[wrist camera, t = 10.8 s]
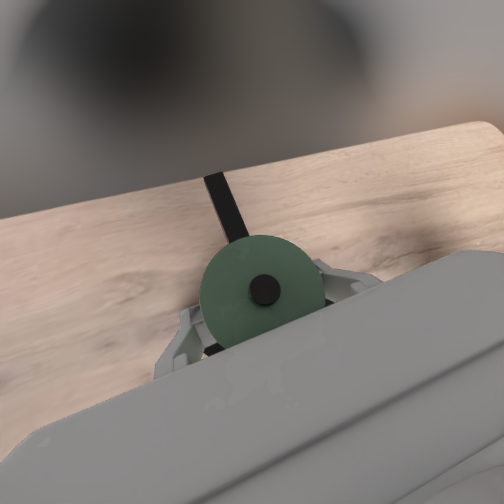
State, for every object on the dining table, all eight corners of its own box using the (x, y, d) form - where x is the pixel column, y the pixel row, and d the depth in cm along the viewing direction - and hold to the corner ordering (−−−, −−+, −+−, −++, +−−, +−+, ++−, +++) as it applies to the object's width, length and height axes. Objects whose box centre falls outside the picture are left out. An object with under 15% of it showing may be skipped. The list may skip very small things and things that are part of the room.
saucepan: (163, 295, 18) (101, 265, 10) (221, 219, 20) (209, 146, 12) (267, 366, 17) (291, 397, 9) (316, 276, 19) (371, 236, 11)
